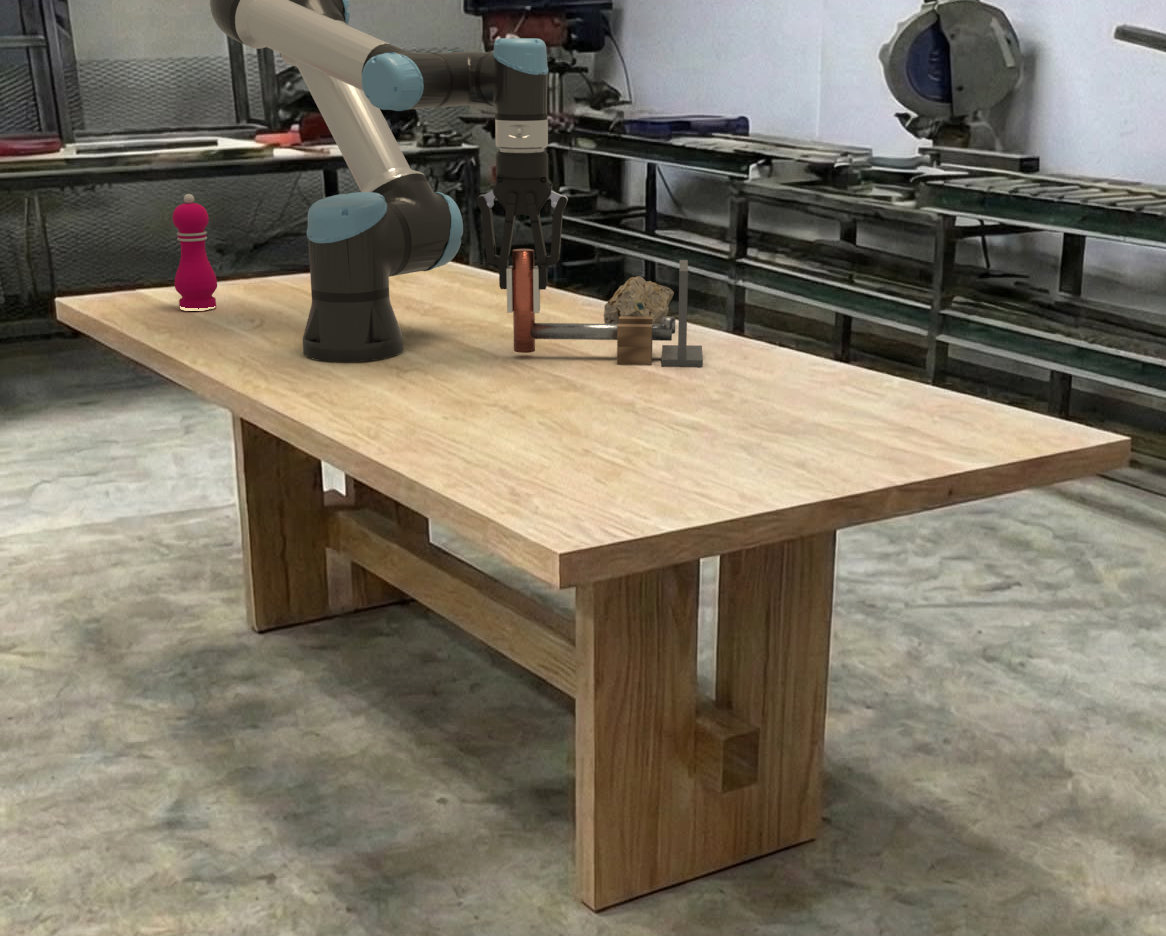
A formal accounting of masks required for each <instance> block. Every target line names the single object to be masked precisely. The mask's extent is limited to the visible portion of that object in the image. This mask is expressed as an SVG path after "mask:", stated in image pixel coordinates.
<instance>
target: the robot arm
mask: <svg viewBox="0 0 1166 936" xmlns="http://www.w3.org/2000/svg"><path fill="white" fill-rule="evenodd" d="M209 6H210V7H209V8H210V12H211V16H212V19H213V20H214V22H215V24H216V26H217V27H218V28H219V30H220V31H221V32H222V33H224V34H225V35H226V36H227V37H229V38H231V39H232V40H234V41H235V42H237V43H239V44H243V45H245V46H248V47H249V48H251V49H257V50H258V49H260V50H261V49H264V48H268V49H270V50H271V51H274V52H277V53H279V55H280V57H281V58H282V61H283V62H284V63H285V64H286V65H290V66H292V67H293V66H294V67H297V69H298V71H299V73H300V75H301V77H302V79H303V81H304V83H305V86H306V87H307V89H308V90H309V93H310V94H311V96H312V99H313V100H314V103H315V104H316V106H317V108H318V111H319V112H320V115H321V116H322V118H323V120H324V122H325V124H326V126H327V127H328V128H327V129H328V130H329V132H330V133H331V134H330V135H332V137H333V140H334V142H335V144H336V145H337V147H338V149H339V151H340V154H341V155H342V158H343V159H344V161H345V163H346V166H347V167H348V169H349V171H350V172H351V175H352V177H353V178H354V180H355V183H356V185H357V187H358V188H359V190H360V191H357V192H350V193H341V194H340V193H339V194H335V195H332V196H327V197H324V198H320V199H318V200H317V201H315V202H313V204H311V206H310V207H309V209H308V212H307V229H306V238H307V245H308V246H307V247H308V258H309V273H310V274H309V277H310V291H311V292H310V293H311V306H310V308H309V313H308V316H307V320H306V324H305V329H304V331H303V336H302V354H303V355H304V356H305V357H306V356H307V358H309V357H310V358H309V359H312V358H313V360H316V359H317V361H322V360H323V362H337V363H352V362H353V363H355V362H370V361H377V360H384V359H387V358H392V357H395V356H398V355H399V354H401V353H402V352H403V351H404V337H403V333H402V330H401V328H400V326H399V322H398V320H397V317H396V314H395V311H394V308H393V306H392V304H391V303H392V302H391V300H390V299H391V297H390V277H395V276H401V275H406V274H412V273H418V272H428V271H431V270H433V269H435V268H440V267H443V266H445V265H447V264H448V263H449V262H451V261H452V260H453V259H454V258H455V257H456V255H457V254H458V252H459V250H460V247H461V244H462V236H463V235H464V223H463V217H462V214H461V213H462V212H461V211H460V208H459V206H458V204H457V203H456V201H454V199H453V198H452V197H451V196H450V195H448V194H444V193H443V192H440V191H435V192H434V190H433V188H432V185H431V184H430V183H429V180H428V179H427V177H426V174H424V173H423V172H422V171H417V170H414V169H411V166H410V165H409V163H408V161H407V159H406V158H405V155H404V153H403V151H402V149H401V148H400V145H399V144H398V141H397V140H396V138H395V136H394V134H393V132H392V130H391V129H390V126H389V124H388V122H387V120H386V119H385V117H384V114H383V113H382V111H381V110H383V111H386V110H389V111H390V110H391V111H396V112H403V111H407V110H416V109H429V108H445V107H461V106H462V107H463V106H478V107H480V106H481V107H482V106H486V107H487V106H488V107H494V117H495V118H494V120H495V121H494V122H495V126H494V127H495V129H494V130H495V147H497V148H498V149H499V150H498V151H497V153H495V174H496V175H495V183H494V186H493V188H492V190H491V191H489V192H487V193H485V194H483V193H482V194H480V195H479V196H478V197H477V198H476V203H477V206H478V207H479V209H480V211H481V212H480V213H481V216H482V218H481V219H482V225H483V226H482V228H483V238H484V249H485V257H486V258H485V259H486V262H487V263H488V264H492V265H493V266H494V265H495V266H497V267H498V275H499V277H498V282H499V285H498V286H499V288H500V289H501V290H506V312H507V313H509V314H510V313H512V314H513V271H512V265H509V262H510V255H511V254H510V253H511V248H512V242H513V241H512V240H513V234H514V228H515V222H516V221H515V220H516V216H520V215H523V216H527V217H528V218H529V221H530V226H531V233H532V238H533V243H534V244H533V245H534V249H535V250H534V251H535V255H536V260H537V265H536V266H535V265H534V268H533V301H534V313H535V314H539V313H540V311H541V290H546V289H547V286H548V268H549V267H550V266H552V265H556V264H558V262H559V260H560V257H561V246H562V245H561V242H562V231H563V217H564V215H563V214H564V210H565V208H566V206H567V203H568V201H569V197H568V196H567V195H566V194H560V193H559V192H555V191H554V190H552V186H551V184H550V183H549V153H547V151H545V148H547V147H548V146H549V139H548V138H549V118H548V84H549V83H548V79H549V77H548V75H549V67H548V66H549V65H548V55H547V54H548V53H547V45H546V43H545V41H544V40H542V39H541V38H527V37H526V38H522V37H521V38H519V37H518V38H517V37H516V38H514V37H513V38H512V37H511V38H509V37H508V38H502V37H501V38H500V37H499V38H497V39H496V40H495V41H494V43H493V51H492V52H480V51H479V52H478V51H463V50H450V51H443V52H411V51H407V50H405V49H402V48H401V47H398V46H395V45H392V44H391V43H389V42H386V41H385V40H382V39H379V38H377V37H375V36H373V35H370V34H368V33H366V32H363V31H361V30H359V29H356V28H355V27H352V26H349V22H350V19H351V11H349V10H348V7H350V0H209ZM495 199H496V200H497V202H499V204H500V206H501V207H502V208H503V210H504V211H505V215H504V216H505V217H504V224H503V225H504V226H503V233H502V238H501V245H500V251H499V252H500V253H499V255H498V254H497V248H496V247H497V246H496V239H495V238H496V237H495V228H494V217H493V216H494V215H493V209H492V208H493V207H494V206H495V203H494V202H495V201H494V200H495ZM548 199H550V200H551V201H550V202H551V203H550V205H551V208H553V209H554V210H553V215H552V230H551V246H550V255H548V256H547V251H546V245H545V239H544V231H543V228H542V221H541V213H540V211H541V209H542V208H543V206H544V205H545V203H547V200H548Z"/></svg>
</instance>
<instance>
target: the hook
mask: <svg viewBox="0 0 1166 936" xmlns="http://www.w3.org/2000/svg"><path fill="white" fill-rule="evenodd" d="M511 254H512V255H511V259H512V260H511V262H512V265H511V266H512V271H513V312H512V318H513V319H512V320H513V322H512V324H513V329H512V330H513V351H514V352H515V353H519V354H520V353H521V354H528V353H533V352H536V340H572V341H573V340H580V341H581V340H586V341H587V340H588V341H594V340H595V341H617V326H618V324H605V323H582V322H581V323H574V322H573V323H572V322H571V323H569V322H563V323H562V322H557V323H556V322H535V321H536V318H535V317H536V313H534V301H533V268H534V267H535V250H534V249H531V248H516V249H515V248H514V249H512V250H511ZM676 319H677V317H675V316H666V317H662V324H652V341H659V342H660V341H664V342H665V341H666V342H667V341H669V342H671V341H673V334H674V335H675V334H676Z"/></svg>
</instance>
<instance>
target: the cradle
mask: <svg viewBox="0 0 1166 936" xmlns="http://www.w3.org/2000/svg"><path fill="white" fill-rule="evenodd" d="M652 324H653V317H632V316H619V324H618V326H617V340H616V342H617V343H616V344H617V345H616V349H617V350H616V365H630V366H632V365H637V366H639V365H641V366H642V365H644V366H645V365H646V366H651V365H652V360H653V340H652Z"/></svg>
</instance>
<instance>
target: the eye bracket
mask: <svg viewBox="0 0 1166 936" xmlns="http://www.w3.org/2000/svg"><path fill="white" fill-rule="evenodd" d="M688 260H689V259H680V260H679V268H678V269H679V273H678V274H679V277H678V278H679V282H678V285H679V286H678V329H677V331H678V332H677V333H678V334H677V336H678V337H677V339H678V340H677V341H678V342H677V345H676V344H673V345H672V344H662V346H661V347H662V348H661V364H660V365H661V367H667V368H668V367H671V368H673V367H674V368H675V367H676V368H677V367H679V368H682V367H683V368H687V367H688V368H691V367H692V368H703V367H704V366H703V364H704V363H703V361H704V360H703V359H704V358H703V345H691V344H689V345H688V344H687V343H688V342H687V341H688V337H687V336H688V334H687V333H688V332H687V331H688V326H687V325H688V292H689V291H688V290H689V289H688V288H689V287H688V286H689V285H688V284H689V282H688V281H689V262H688Z"/></svg>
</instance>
